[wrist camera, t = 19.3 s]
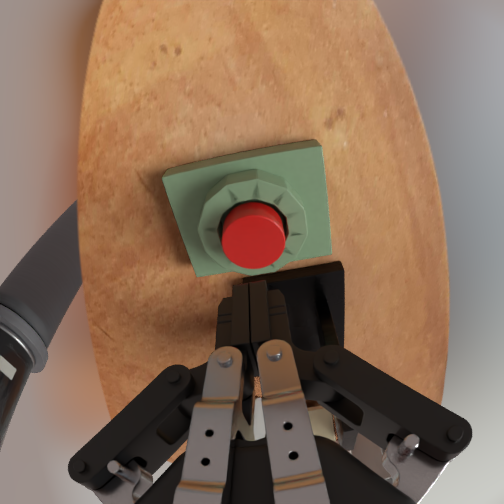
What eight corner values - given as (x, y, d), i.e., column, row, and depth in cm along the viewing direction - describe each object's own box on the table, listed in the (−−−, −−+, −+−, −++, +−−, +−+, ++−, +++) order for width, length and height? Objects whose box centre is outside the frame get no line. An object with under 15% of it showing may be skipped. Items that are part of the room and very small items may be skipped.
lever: (325, 394, 29) (328, 422, 28) (294, 399, 29) (298, 428, 28) (338, 399, 18) (344, 445, 16) (288, 407, 18) (294, 453, 16)
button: (230, 257, 20) (229, 274, 19) (216, 207, 18) (214, 221, 17) (286, 247, 20) (289, 264, 18) (277, 196, 18) (280, 209, 16)
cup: (360, 433, 45) (371, 492, 35) (336, 422, 41) (347, 490, 32) (406, 411, 42) (423, 472, 32) (388, 398, 38) (407, 470, 28)
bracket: (341, 339, 30) (369, 455, 19) (263, 352, 30) (269, 471, 20) (340, 260, 24) (391, 402, 14) (242, 277, 25) (240, 427, 14)
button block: (199, 264, 24) (193, 293, 21) (167, 168, 20) (153, 188, 17) (327, 242, 23) (338, 269, 20) (316, 139, 19) (329, 153, 16)
